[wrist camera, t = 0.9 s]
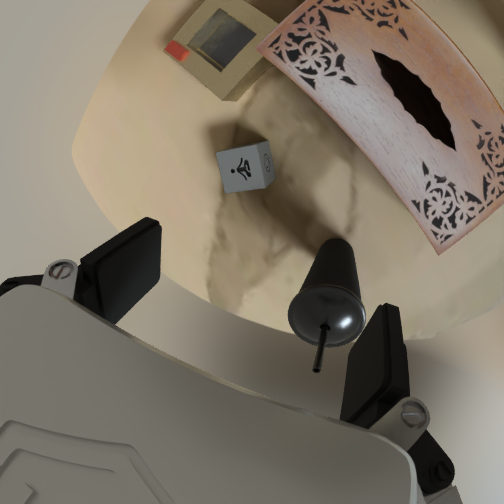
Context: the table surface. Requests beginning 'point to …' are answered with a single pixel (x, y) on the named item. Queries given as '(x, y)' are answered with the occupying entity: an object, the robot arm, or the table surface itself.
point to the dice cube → (246, 167)
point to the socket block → (223, 46)
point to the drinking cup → (329, 301)
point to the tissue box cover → (401, 105)
